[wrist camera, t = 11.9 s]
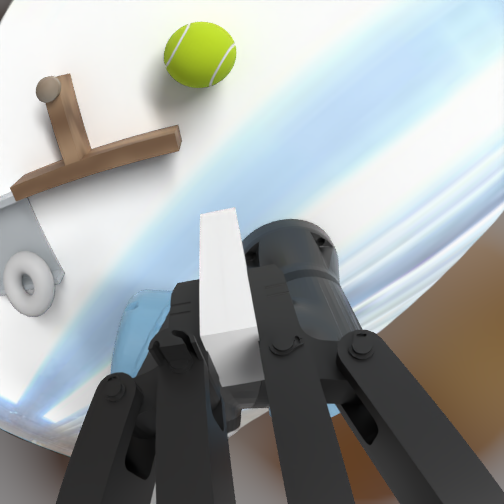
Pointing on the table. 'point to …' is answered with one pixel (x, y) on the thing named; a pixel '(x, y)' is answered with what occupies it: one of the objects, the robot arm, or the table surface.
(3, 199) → the tray
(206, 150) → the table surface
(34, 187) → the t rack
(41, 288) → the donut
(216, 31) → the tennis ball
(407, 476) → the robot arm
